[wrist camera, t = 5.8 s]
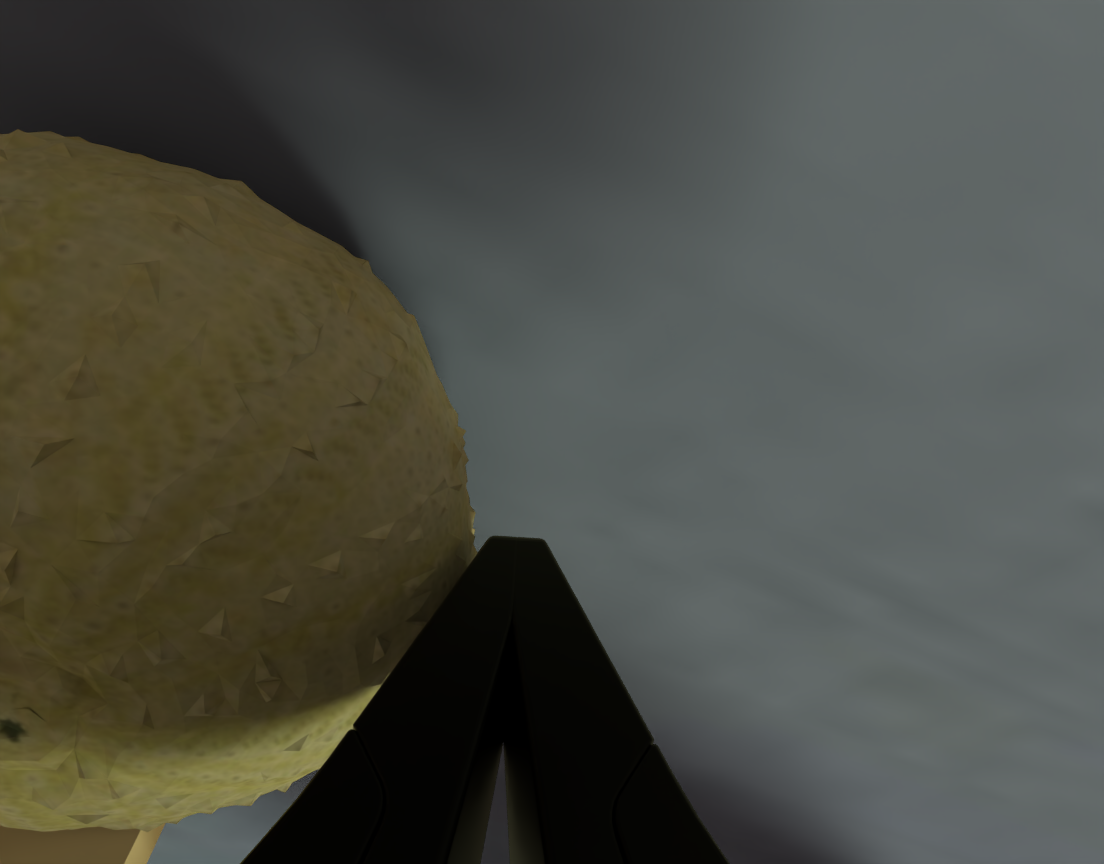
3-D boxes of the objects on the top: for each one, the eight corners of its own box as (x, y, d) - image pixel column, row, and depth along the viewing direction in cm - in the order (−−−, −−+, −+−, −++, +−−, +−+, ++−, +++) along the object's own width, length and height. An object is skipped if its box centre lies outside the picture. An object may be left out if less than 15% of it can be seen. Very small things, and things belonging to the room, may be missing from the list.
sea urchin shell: (588, 194, 7) (393, 1170, 5) (495, 393, 14) (405, 802, 12) (-524, -130, 5) (-1400, 1066, 3) (29, 282, 13) (-151, 723, 11)
